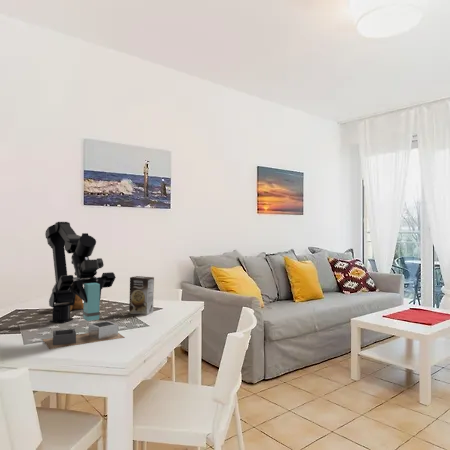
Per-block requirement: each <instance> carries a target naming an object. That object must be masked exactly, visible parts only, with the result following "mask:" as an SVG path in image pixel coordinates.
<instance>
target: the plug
mask: <svg viewBox="0 0 450 450" xmlns="http://www.w3.org/2000/svg"><path fill="white" fill-rule="evenodd" d="M83 288H84V290H85V293H86V296H87V303H85V302H84V301H83V304H84V309H83V311H82V315H83V320H85V321H86V322H91V321H97V320H100V315H101V313H100V312H101V311H100V302H101V298H100V284H98V283H85V284H84V285H83Z"/></svg>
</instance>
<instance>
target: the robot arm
mask: <svg viewBox="0 0 450 450" xmlns="http://www.w3.org/2000/svg"><path fill="white" fill-rule="evenodd" d="M44 234H45V235H44V236H45V239H46V242H47V245H49V247H50V248H51V249H52V256H53V257H52V258H53V266H54V267H53V268H54V278H55V279H54V280H55V283H54V285H53V288H52V289H51V294H50V297H49V300H48V305H49V307H51V308H52V319H50V320H49V322H51V323H60V324H64V323H67V322H69V321H73V319H74V318H73V317H71V311H70V305H74V303H75V296H76V295H77V296H79V297H80V298H81V299H82V301H83V303H84V302H85V303H87V296H86V293H85V290H84V284H85V283H98V284H100V299H101V296H102V289H103V288H111V287H112V286H113V284H114V282H115V280H116V275H115V273H114V272H112V271H108V272H102V274H101V276H99V277H98V276H97V274H98V272H97V270H99V269H102V268H103V267H104V265H105V264H104V261H103V258H101V257H100V258H96V259H90V256H92V254H93V252H94V250H95V247H96V244H97V239H95V237H94V236H92V235H89V233H88V232H87V233H86V232H85V233H84V232H83V233H81V235H78V234H77V233H76V232H75V230H74V229H73V228H72V227H71V223H70V222H68V221H56V222H55V223H54V224H52V225H49V226H48V227H47V229H46V230H45V233H44ZM66 253H67V254H71V262H70V263H71V264H72V265H73V268H74V269H73V270H74V275H73V274H68V268H67V259H66ZM74 276H75V277H74Z"/></svg>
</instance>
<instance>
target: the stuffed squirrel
mask: <svg viewBox="0 0 450 450" xmlns="http://www.w3.org/2000/svg"><path fill="white" fill-rule="evenodd" d="M75 310H84V301H83V300H82V299H81V298H80V297H79V296H77V295H76V296H75V303H74V305H70V312H71V311H75Z"/></svg>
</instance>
